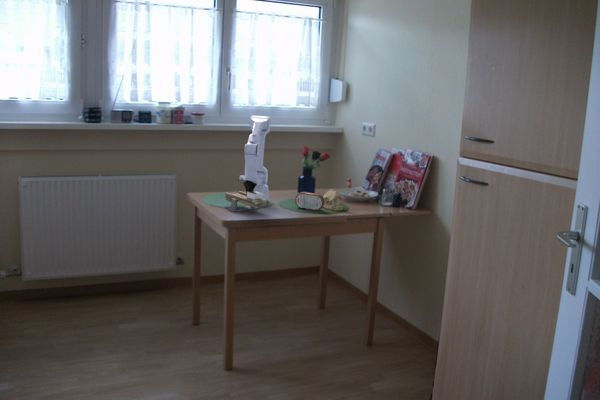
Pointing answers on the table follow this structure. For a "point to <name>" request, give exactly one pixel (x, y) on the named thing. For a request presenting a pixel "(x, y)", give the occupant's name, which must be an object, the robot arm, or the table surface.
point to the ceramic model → (332, 200)
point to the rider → (254, 195)
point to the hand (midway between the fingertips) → (249, 196)
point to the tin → (309, 201)
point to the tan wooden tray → (245, 199)
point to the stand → (235, 208)
